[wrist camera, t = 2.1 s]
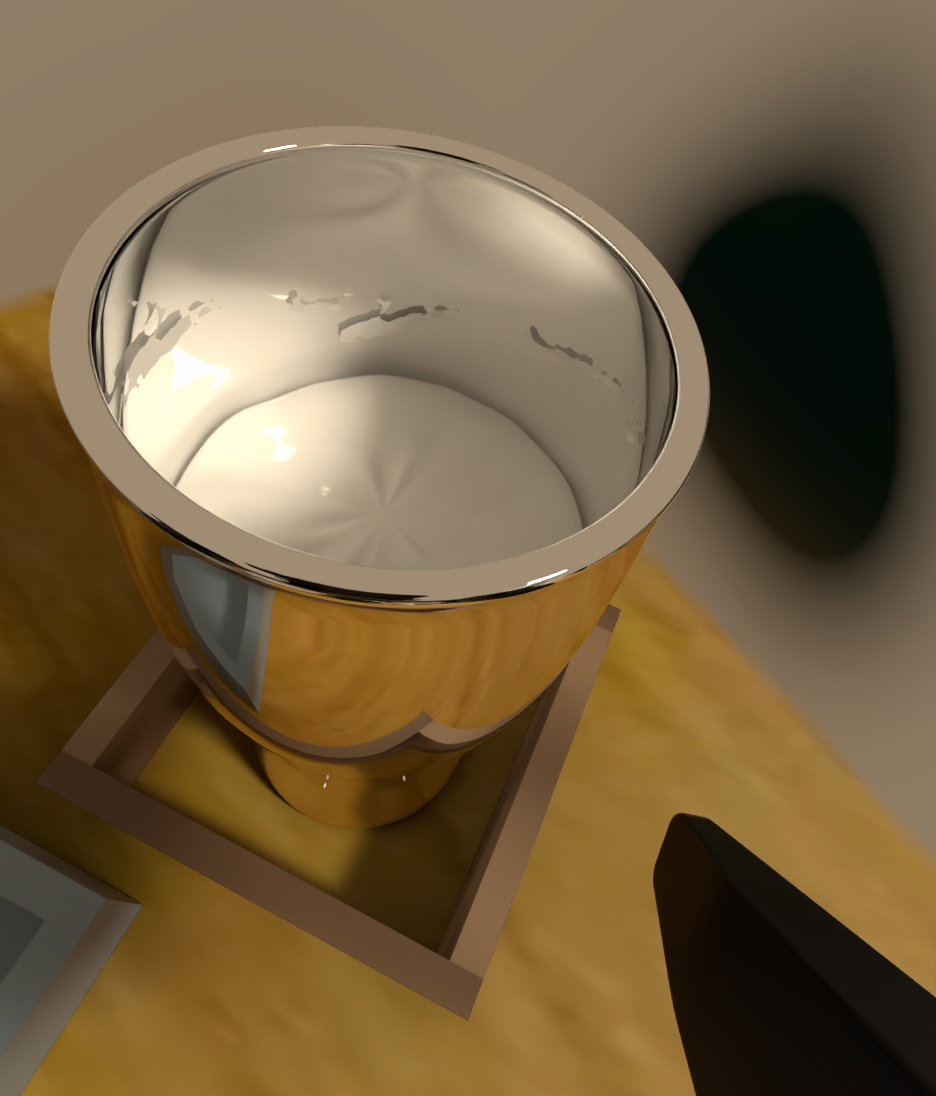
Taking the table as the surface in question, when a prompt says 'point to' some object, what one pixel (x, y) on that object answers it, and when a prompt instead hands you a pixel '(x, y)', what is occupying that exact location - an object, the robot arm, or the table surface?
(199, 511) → the silver metal cup
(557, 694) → the rectangular frame
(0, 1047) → the tray
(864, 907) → the table surface
